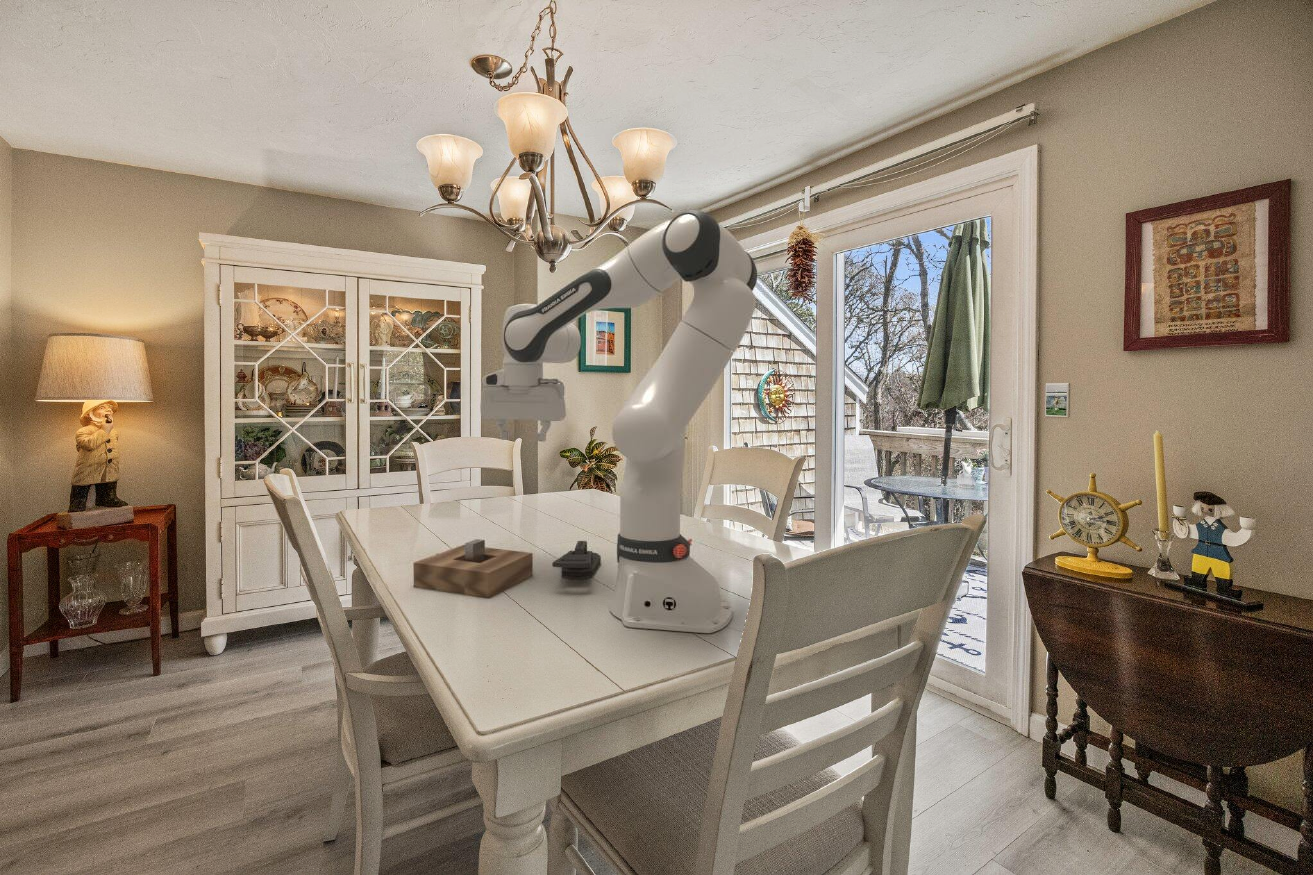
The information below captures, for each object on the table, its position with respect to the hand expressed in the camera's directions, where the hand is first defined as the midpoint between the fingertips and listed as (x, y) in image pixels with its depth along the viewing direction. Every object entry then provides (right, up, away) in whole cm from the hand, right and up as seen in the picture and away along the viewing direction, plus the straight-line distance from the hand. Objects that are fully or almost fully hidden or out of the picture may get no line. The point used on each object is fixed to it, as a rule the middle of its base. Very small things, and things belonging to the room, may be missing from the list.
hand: (522, 440), depth 136 cm
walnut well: (-8, -30, -8) cm, 32 cm away
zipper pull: (+13, -30, -3) cm, 33 cm away
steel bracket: (-8, -30, -8) cm, 32 cm away
